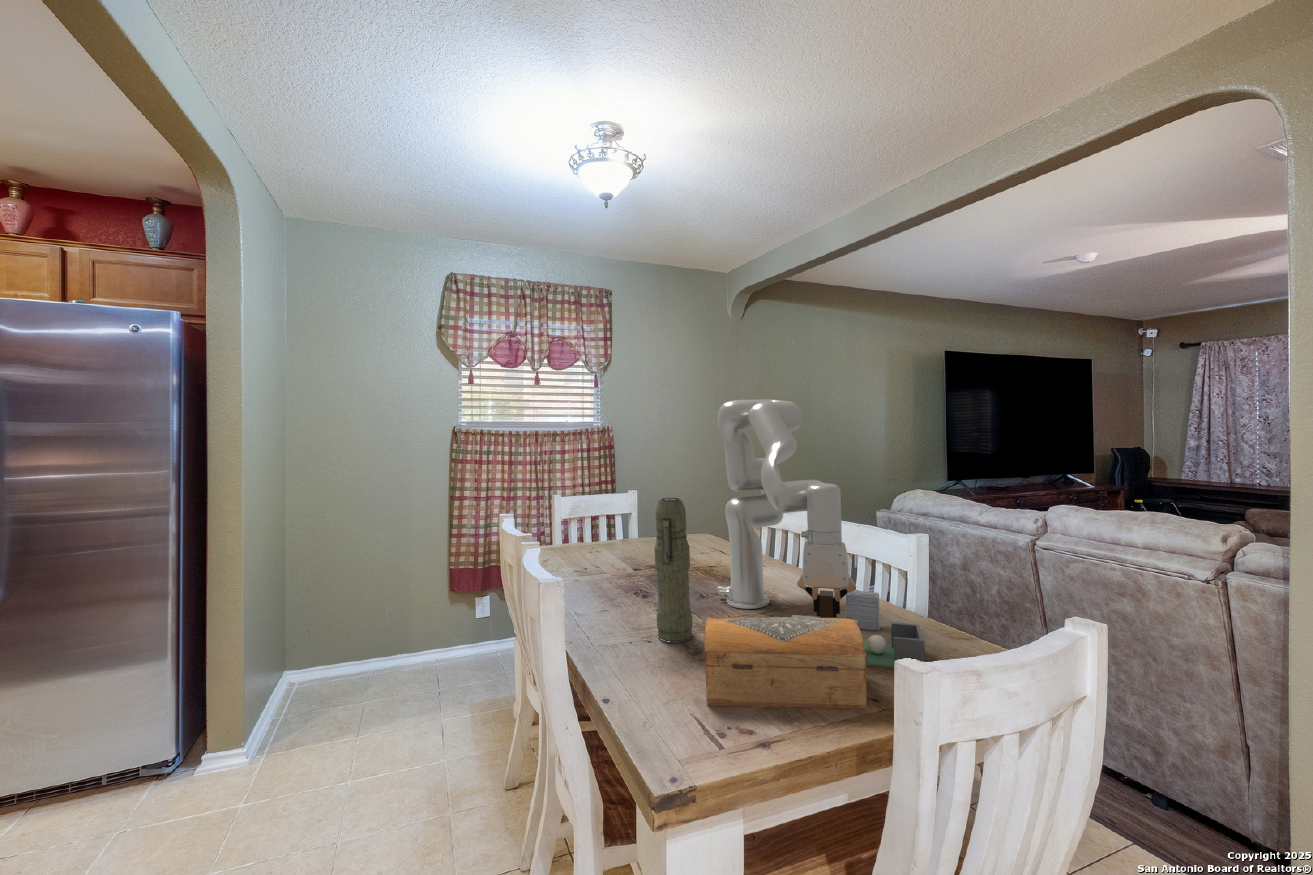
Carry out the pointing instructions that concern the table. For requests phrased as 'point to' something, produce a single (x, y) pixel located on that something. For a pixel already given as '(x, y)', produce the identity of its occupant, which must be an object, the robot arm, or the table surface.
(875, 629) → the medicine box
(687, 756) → the table surface
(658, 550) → the thermos
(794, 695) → the wooden box
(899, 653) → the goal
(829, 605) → the grey brown blocky piece
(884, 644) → the ball
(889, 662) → the pitch mat
